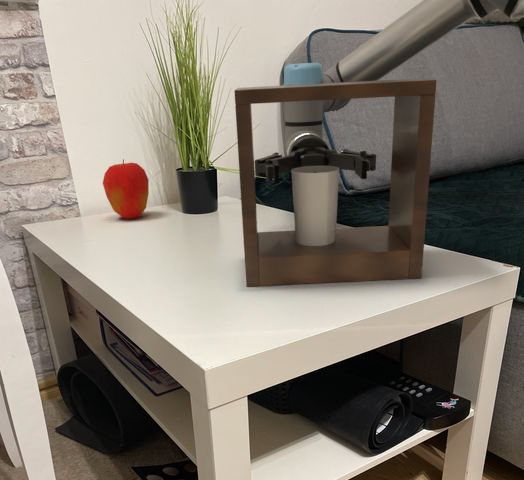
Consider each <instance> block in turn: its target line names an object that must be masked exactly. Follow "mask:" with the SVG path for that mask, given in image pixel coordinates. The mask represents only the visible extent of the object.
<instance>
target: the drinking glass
mask: <svg viewBox="0 0 524 480" xmlns="http://www.w3.org/2000/svg"><path fill="white" fill-rule="evenodd" d="M290 174H291V188H292V201H293V203H292V205H293V217H294V218H293V219H294V230H295V234H296V242H297V243H298V244H301V245H306V246H322V245H328V244H332V243H334V242H335V238H336V228H337V220H338V219H337V217H338V201H339V182H340V181H339V180H340V169H339V168H338V167H334V166H306V167H299V168H294V169H292V170H291V172H290Z"/></svg>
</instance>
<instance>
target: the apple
mask: <svg viewBox="0 0 524 480" xmlns="http://www.w3.org/2000/svg"><path fill="white" fill-rule="evenodd" d="M149 185H150V184H149V178H148V175H147V172H146V170H145V169H144V168H143V167H142V166H141V165H140V164H139V163H137V162H125V159H124V158H123V159H122V163H117V164H113V165H110V166H108V168H107V169H106V171H105V172H104V175H103V180H102V186H103V189H104V192H105V196H106V199H107V200H108V203H109V204H110V206H111V208H112V210H113V212H114V213H116V214H117V215H118V216H120V217H121V218H122V219H128V220H129V219H131V220H132V219H138V218H140V217H141V216H142V214H143V213H144V211H145V210H146V209H147V205H148V198H149V193H150V192H149V190H150V188H149Z"/></svg>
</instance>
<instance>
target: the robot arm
mask: <svg viewBox="0 0 524 480" xmlns="http://www.w3.org/2000/svg"><path fill="white" fill-rule="evenodd" d="M496 10H499V11H501V12H502V13H503V14H504V15H506V16H507V17H508V18H509V19H510V20H517V19H521V18H524V0H422V1H420V2H419V3H417V4H416V5H415V6H413V7H412V8H410V9H409V10H408V11H406V12H405V13H404V14H402V15H400V16H399V17H398V18H397V19H395V20H394V21H392V23H390V24H389V25H387V26H386V27H384V28H383V29H381V30H380V31H379V32H378V33H376V34H375V35H374V36H372V37H371V38H369V39H368V40H367V41H365V42H364V43H362V44H361V45H360V46H359V47H357V48H356V49H354V50H353V51H352V52H351V53H349V54H348V55H347V56H345V57H344V58H342V59H341V60H339V61H338V62H337V63H336V64H334V65H332V67H330V68H329V69H327V70H326V71H324V72H323V66H322V64H321V63H320V62H304V63H289V64H286V66H285V67H284V69H283V85H303V84H322V83H342V82H361V81H381V80H383V78H385V77H386V76H388V75H389V74H390V73H392V72H394V71H395V70H396V69H398V68H400V67H401V66H402V65H404V64H406V63H407V62H408V61H410V60H412V59H413V58H415V57H416V56H418V55H419V54H420V53H422V52H424V51H425V50H427V49H428V48H429V47H431V46H433V45H434V44H436V43H437V42H439V41H440V40H442V39H443V38H445V37H446V36H447V35H449V34H450V33H452V32H454V31H455V30H457V29H458V28H460V27H461V26H462V25H464V24H466V23H467V22H468V21H470V20H472V19H474V20H475V19H476V20H482V19H484V18H485V17H487V16H488V15H490V14H491V13H494V11H496ZM283 85H282V86H283ZM351 101H352V99H337V100H317V101H297V102H283V105H284V106H283V108H284V138H285V139H284V143H283V144H284V145H283V147H284V149H283V150H284V151H283V152H284V156H283V154H282V153H279V152H277V151H276V152H274V153H272V154H270V155H267V156H264V157H261V158H257V159H254V172H255V177H262V176H265V181H268V182H269V181H273V183H274V184H280V175H281V174H285V173H291V170H292V169H294V168H299V167H306V166H334V167H338V168H339V170H341V171H343V170H344V171H352V172H354V174H356V175H357V176H358V177H359V178H360V179H361V180H367V179H368V177H367V176H368V172H374V171H376V170H377V154H376V153H368V152H367V150H361V151H353V150H350V149H347V148H345V149H342V150H341V151H340V153H339V152H337V150H336V149H330V147H329V145H328V144H327V143H326V141H324V139H323V138H324V137H323V130H324V129H323V127H324V126H323V123H324V122H323V119H324V118H323V116H324V115H323V113H324V114H325V113H329V112H330V111H334V112H337V111H340V110H341V109H344V108H345V107H347V105H349V103H350V102H351ZM344 106H345V107H344ZM335 110H336V111H335ZM330 113H331V112H330Z"/></svg>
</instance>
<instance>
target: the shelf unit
mask: <svg viewBox="0 0 524 480" xmlns="http://www.w3.org/2000/svg"><path fill="white" fill-rule="evenodd" d="M437 82H438V81H437V79H423V78H421V79H420V78H415V79H414V78H404V79H403V78H400V79H380V80H379V81H361V82H342V83H322V84H303V85H265V86H247V87H237V88H236V89H234V91H233V92H234V104H235V108H234V109H235V122H236V124H235V125H236V139H237V154H238V156H237V157H238V171H239V172H238V173H239V188H240V206H241V218H242V219H241V220H242V233H243V234H242V235H243V251H244V252H243V253H244V254H243V256H244V268H245V269H244V270H245V285H246V287H247V288H248V287H259V286H260V287H265V286H266V287H267V286H287V285H305V284H306V285H307V284H324V283H326V284H328V283H349V282H368V281H369V282H371V281H390V280H407V279H409V280H410V279H422V276H423V263H424V251H425V250H424V249H425V238H426V237H425V236H426V224H427V211H428V199H429V185H430V171H431V159H432V158H431V157H432V148H433V147H432V146H433V135H434V134H433V132H434V121H435V119H434V118H435V106H436V94H437ZM391 97H392V98H393V97H394V101H393V102H394V103H393V104H394V105H393V124H392V125H393V127H392V143H391V144H392V147H391V165H390V185H389V205H388V207H389V208H388V225H380V226H375V225H374V226H361V227H360V226H357V227H336V238H335V242H334V243H332V244H328V245H322V246H306V245H301V244H298V243H297V242H296V234H295V229H294V230H277V231H259V230H258V213H257V194H256V193H257V192H256V176H255V156H254V155H255V153H254V133H253V113H252V105H255V104H274V103H275V104H276V103H284V102H297V101H317V100H337V99H351V100H352V99H353V100H354V99H355V100H356V99H371V98H372V99H373V98H375V99H376V98H391Z"/></svg>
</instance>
